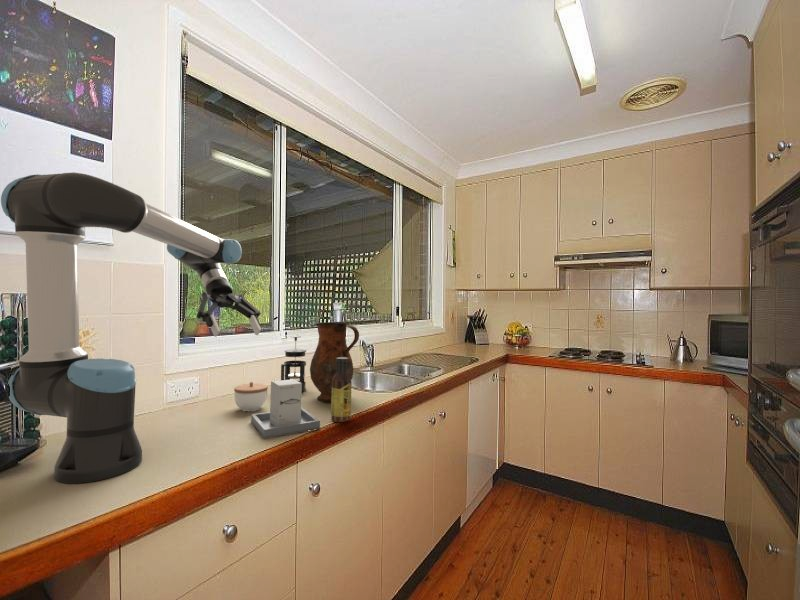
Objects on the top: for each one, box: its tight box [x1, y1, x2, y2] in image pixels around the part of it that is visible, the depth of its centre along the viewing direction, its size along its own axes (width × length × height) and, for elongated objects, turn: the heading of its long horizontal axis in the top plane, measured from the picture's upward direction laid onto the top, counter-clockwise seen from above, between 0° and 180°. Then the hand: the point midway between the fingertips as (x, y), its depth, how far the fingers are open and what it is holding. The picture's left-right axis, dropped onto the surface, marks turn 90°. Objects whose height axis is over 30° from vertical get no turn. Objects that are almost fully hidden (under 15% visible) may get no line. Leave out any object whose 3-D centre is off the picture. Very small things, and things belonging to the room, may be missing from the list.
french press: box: [280, 335, 307, 393], centre depth 157 cm, size 12×9×23 cm
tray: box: [250, 407, 321, 440], centre depth 113 cm, size 16×16×2 cm
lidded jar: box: [233, 381, 269, 413], centre depth 130 cm, size 11×11×9 cm
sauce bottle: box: [330, 357, 352, 423], centre depth 120 cm, size 7×6×20 cm
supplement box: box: [269, 379, 303, 427], centre depth 114 cm, size 7×7×13 cm
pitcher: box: [309, 321, 360, 404], centre depth 144 cm, size 17×21×30 cm
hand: (238, 333), depth 117 cm, fingers open, 13 cm apart
